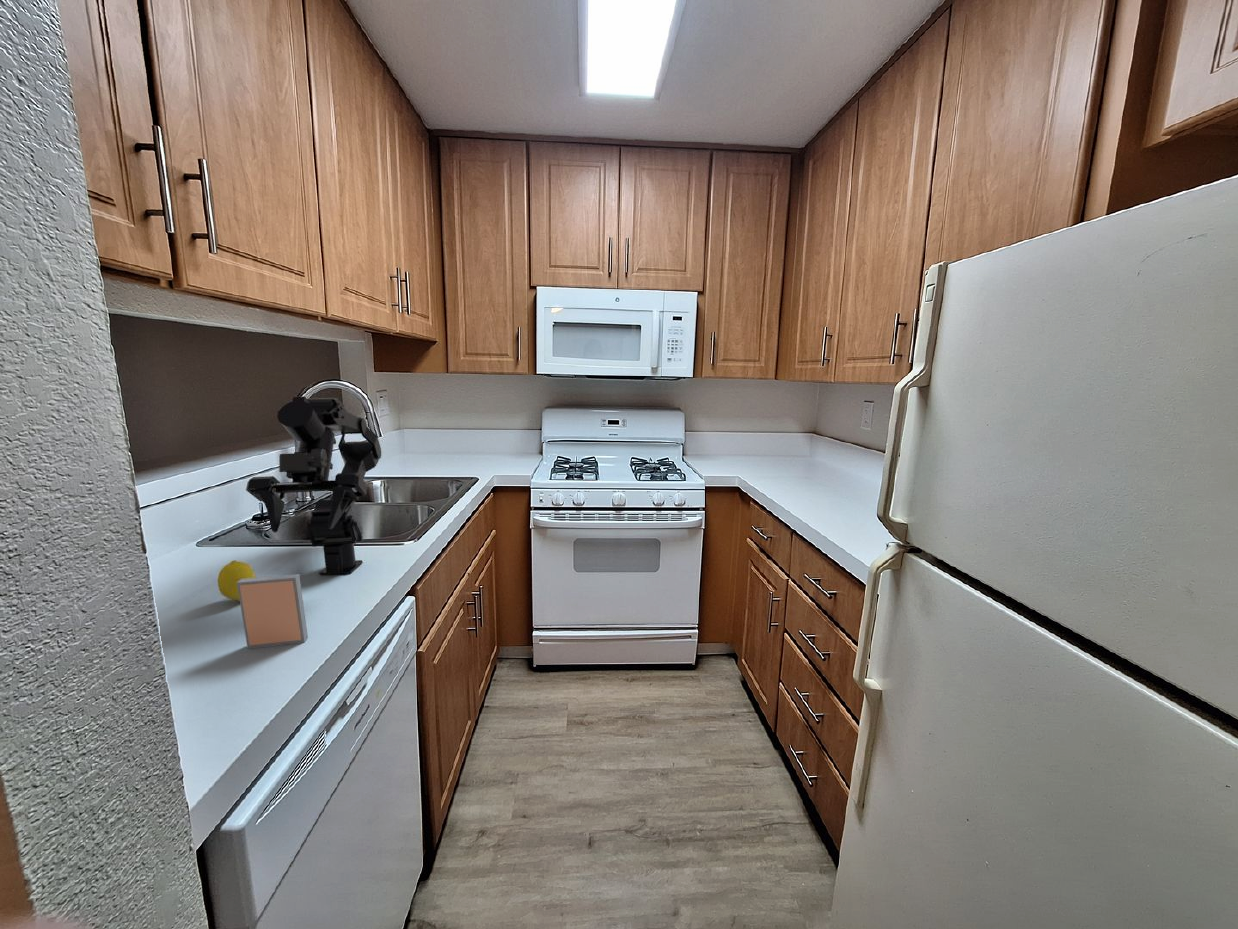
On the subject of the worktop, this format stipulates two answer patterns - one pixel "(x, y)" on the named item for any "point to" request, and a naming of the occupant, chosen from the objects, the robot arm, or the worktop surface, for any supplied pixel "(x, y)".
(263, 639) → the tile
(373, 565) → the worktop surface
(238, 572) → the lemon
